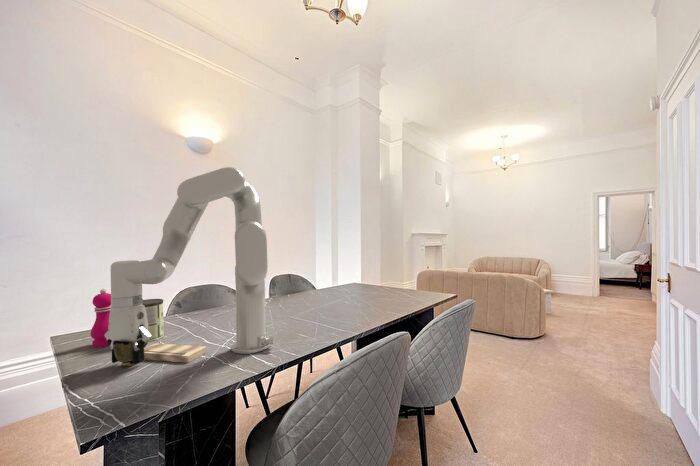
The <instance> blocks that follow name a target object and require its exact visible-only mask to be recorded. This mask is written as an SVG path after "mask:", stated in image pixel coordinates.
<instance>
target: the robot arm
mask: <svg viewBox="0 0 700 466" xmlns="http://www.w3.org/2000/svg"><path fill="white" fill-rule="evenodd" d="M176 190H177V191H176V195H177V199H176V200H175V203H174V204H173V206H172V208H171V210H170V212H169V214H168V216H167V217H166V219H165V220H164V222H163V226H162V238H161V241H160V243H159V246H158V247H157V250H156V251H155V253H154V255H153V257H152V258H151V259H146V260H140V261H139V260H137V259H136V260H133V259H130V260H117V261H114V262H113V263H111V264H110V294H111V309H110V315H109V326H108V331H107V332H106V334H105V335H104V336H105V338H106V339H107V340H108V343H109V345H108V346H109V349H110V350H111V363H112V364H116V363H117V362H119V361H118V360H117V359H116V357H115V353H114V347H113V341H115V342H117V341H122V342H133V347H134V350H135V351H133V366H134V365H135V366H136V365H138V364H140V363H143V362H144V361H145V359H144V348H146V347H147V345H148V344H149V342H148V341H149V340H150V339H151V337H152V336H151V335H150V333H149V332H148V320H147V314H146V309H145V306H144V305H142V302H143V300H144V299H143V285H158V284H160V283H163V282H164V281H165V280H168V279H169V278H170V277H171V276H172V275H173V273H174V272H175V270H176V268H177V267H178V263H179V262H180V260H181V258H182V257H183V254H184V253H185V250H186V248H187V246H188V244H189V242H190V240H191V238H192V236H193V234H194V231H195V230H196V228H197V225H198V224H199V222H200V220H201V219H202V216H203V214H204V212H205V210H206V209H207V207H208V205H209V203H210V202H214V201H217V200H219V199H223V198H224V197H225V198H228V199H230V200H231V201H232V203H233V206H234V215H235V216H234V217H235V219H234V220H235V223H234V224H235V230H234V249H235V250H234V251H235V253H234V254H235V256H234V258H235V265H234V277H235V278H234V279H235V323H236V324H235V329H236V331H235V332H236V342H234V343H233V344H232V345H231V351H232V352H233V353H236V354H240V355H244V354H246V355H247V354H248V355H249V354H256V353H259V352H264V351H265V350H267V349H268V348H270V346H271V345H272V346H273V345H275V344H276V341H277V339H276V336H270V334H269V331H266V328H267V326H266V324H267V323H266V321H267V320H266V285H265V279H266V277H267V275H268V239H267V233H266V230H265V228H264V226H263V223H262V209H261V201H260V198H259V195H258V193H257V191H256V190H255V188H254V187H253V186H252V185H251V184H250V183H249V182H247V181H246V178H245V176H244V174H243V172H241V171H240V170H239V169H237V168H235V167H232V166H227V167H222V168H218V169H215V170H212V171H209V172H206V173H203V174H199V175H196V176H193V177H191V178H187V179H184V181H182V182H181V183H180V184H179V185H178V187H177V189H176ZM137 338H138V339H137ZM139 340H141V342H140V343H139V344H137V341H139Z"/></svg>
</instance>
